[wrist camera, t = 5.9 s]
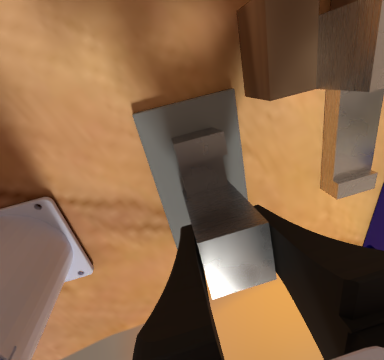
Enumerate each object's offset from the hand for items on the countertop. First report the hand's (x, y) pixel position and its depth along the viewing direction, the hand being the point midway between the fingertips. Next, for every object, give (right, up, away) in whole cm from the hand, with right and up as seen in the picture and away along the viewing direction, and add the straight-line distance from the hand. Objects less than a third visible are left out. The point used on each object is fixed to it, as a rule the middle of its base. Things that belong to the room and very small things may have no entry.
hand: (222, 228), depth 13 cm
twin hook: (+9, +8, +4) cm, 12 cm away
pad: (-1, +3, +4) cm, 6 cm away
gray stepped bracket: (-1, +3, +4) cm, 5 cm away
